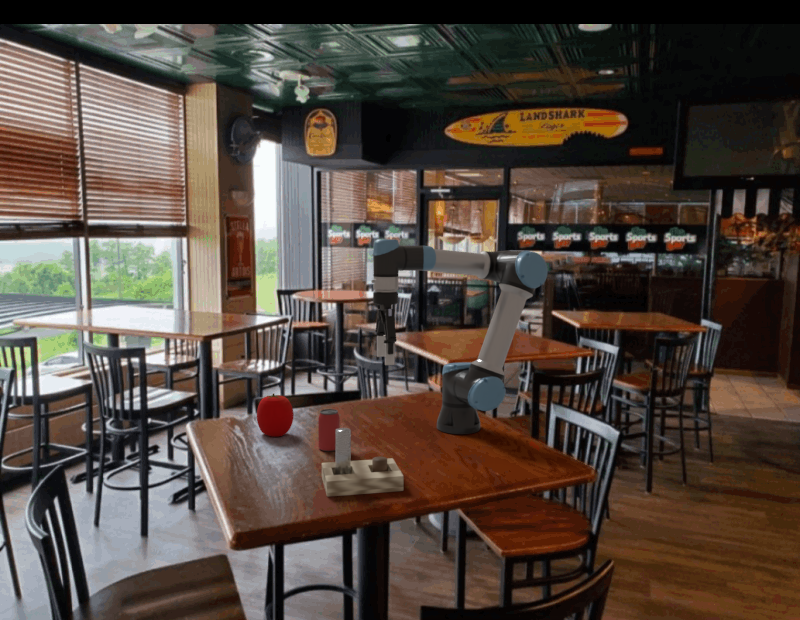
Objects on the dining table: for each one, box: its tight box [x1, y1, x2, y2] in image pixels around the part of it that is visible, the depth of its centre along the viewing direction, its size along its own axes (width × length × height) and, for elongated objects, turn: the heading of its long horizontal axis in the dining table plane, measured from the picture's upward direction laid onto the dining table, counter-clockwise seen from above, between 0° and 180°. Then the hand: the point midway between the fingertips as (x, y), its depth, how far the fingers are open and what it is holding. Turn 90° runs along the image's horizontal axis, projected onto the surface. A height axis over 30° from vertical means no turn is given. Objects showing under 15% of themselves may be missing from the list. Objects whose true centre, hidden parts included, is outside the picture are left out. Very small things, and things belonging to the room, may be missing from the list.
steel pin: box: [334, 427, 352, 475], centre depth 172 cm, size 4×4×14 cm
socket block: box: [321, 456, 404, 497], centre depth 174 cm, size 20×14×6 cm
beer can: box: [317, 408, 341, 452], centre depth 202 cm, size 7×7×12 cm
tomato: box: [256, 393, 294, 438], centre depth 215 cm, size 13×11×14 cm
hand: (385, 360), depth 196 cm, fingers open, 13 cm apart
